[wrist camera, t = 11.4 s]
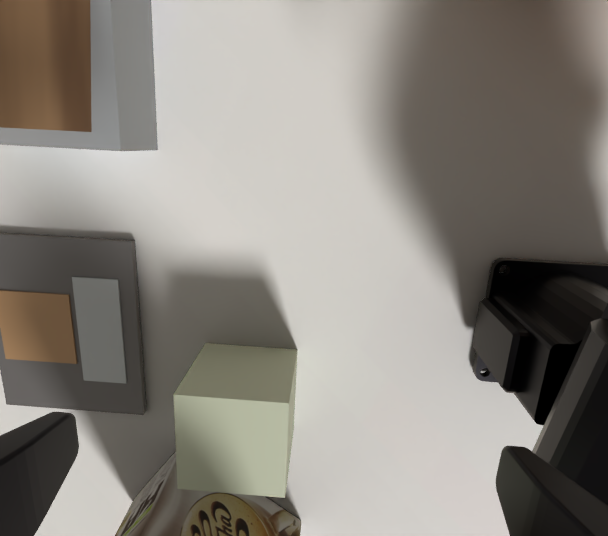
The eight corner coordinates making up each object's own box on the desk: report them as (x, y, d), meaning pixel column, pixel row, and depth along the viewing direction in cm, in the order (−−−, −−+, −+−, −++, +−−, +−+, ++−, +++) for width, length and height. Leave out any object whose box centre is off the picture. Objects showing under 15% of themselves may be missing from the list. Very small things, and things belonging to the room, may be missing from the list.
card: (134, 240, 21) (130, 242, 21) (146, 410, 24) (142, 415, 24) (-18, 231, 22) (-26, 233, 21) (11, 400, 25) (5, 405, 24)
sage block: (297, 348, 23) (289, 403, 18) (293, 427, 24) (285, 497, 19) (205, 342, 23) (173, 394, 18) (207, 421, 24) (177, 489, 20)
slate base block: (152, -17, 18) (106, -59, 15) (159, 149, 20) (120, 151, 17) (-3, -23, 19) (-89, -66, 15) (19, 142, 21) (-51, 141, 17)
